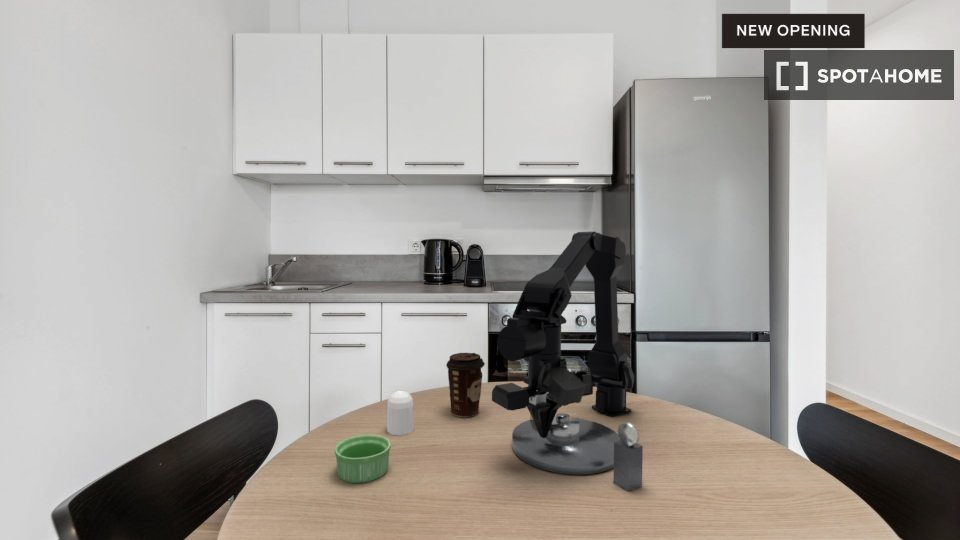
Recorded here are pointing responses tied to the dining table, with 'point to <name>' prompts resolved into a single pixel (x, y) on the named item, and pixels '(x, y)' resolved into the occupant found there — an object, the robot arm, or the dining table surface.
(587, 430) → the turntable
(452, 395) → the coffee cup
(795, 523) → the dining table surface
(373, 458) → the ramekin
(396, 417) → the salt shaker
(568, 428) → the cover
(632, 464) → the indicator stand
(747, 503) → the dining table surface
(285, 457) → the dining table surface
